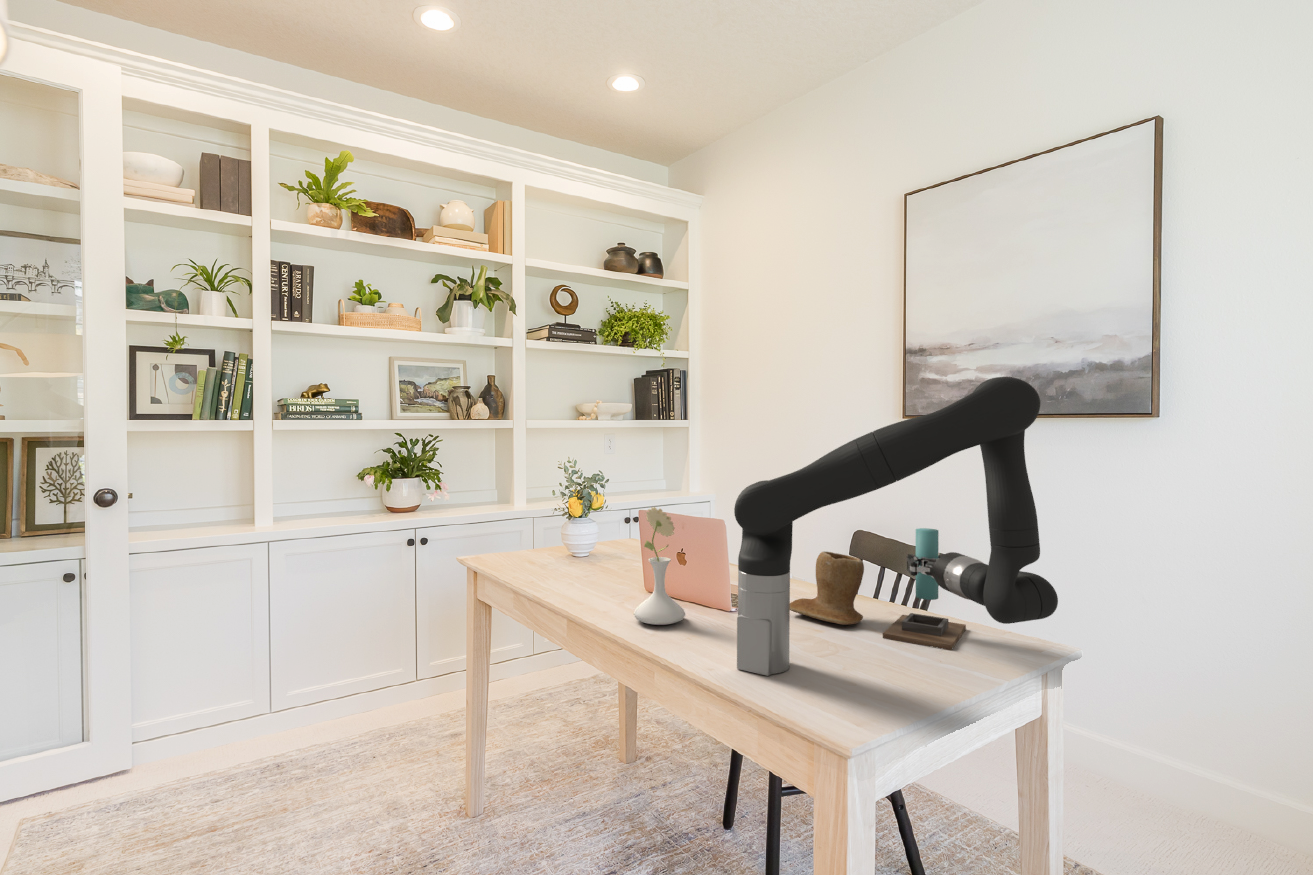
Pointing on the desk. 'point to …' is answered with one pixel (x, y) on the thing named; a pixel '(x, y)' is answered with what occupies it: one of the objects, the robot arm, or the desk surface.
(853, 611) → the brown hollow flared cylinder
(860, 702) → the desk surface
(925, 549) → the teal pillar
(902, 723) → the desk surface
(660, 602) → the flower in vase
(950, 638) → the walnut base board
